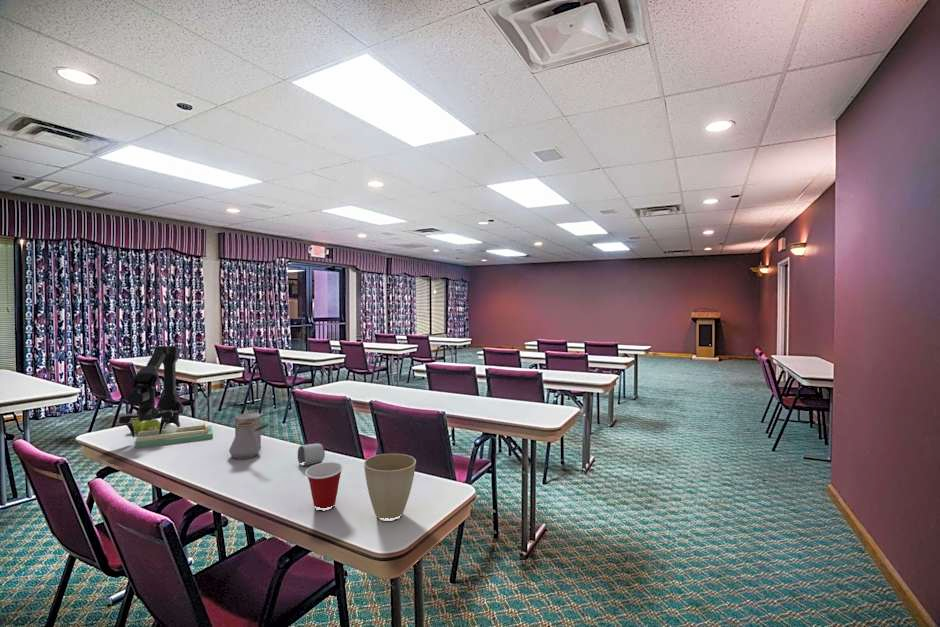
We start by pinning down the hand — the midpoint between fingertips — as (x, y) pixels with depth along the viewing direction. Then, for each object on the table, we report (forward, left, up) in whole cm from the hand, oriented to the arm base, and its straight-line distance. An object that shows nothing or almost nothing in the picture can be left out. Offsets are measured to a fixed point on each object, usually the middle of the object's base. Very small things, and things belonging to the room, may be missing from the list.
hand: (147, 435), depth 197 cm
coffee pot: (+45, +37, -3) cm, 58 cm away
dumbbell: (-16, -1, -3) cm, 16 cm away
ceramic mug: (+62, +54, -3) cm, 82 cm away
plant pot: (+118, +65, -3) cm, 135 cm away
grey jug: (+30, +37, -3) cm, 47 cm away
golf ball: (0, +9, +2) cm, 9 cm away
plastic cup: (+103, +50, -3) cm, 115 cm away
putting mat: (0, +11, -3) cm, 11 cm away
